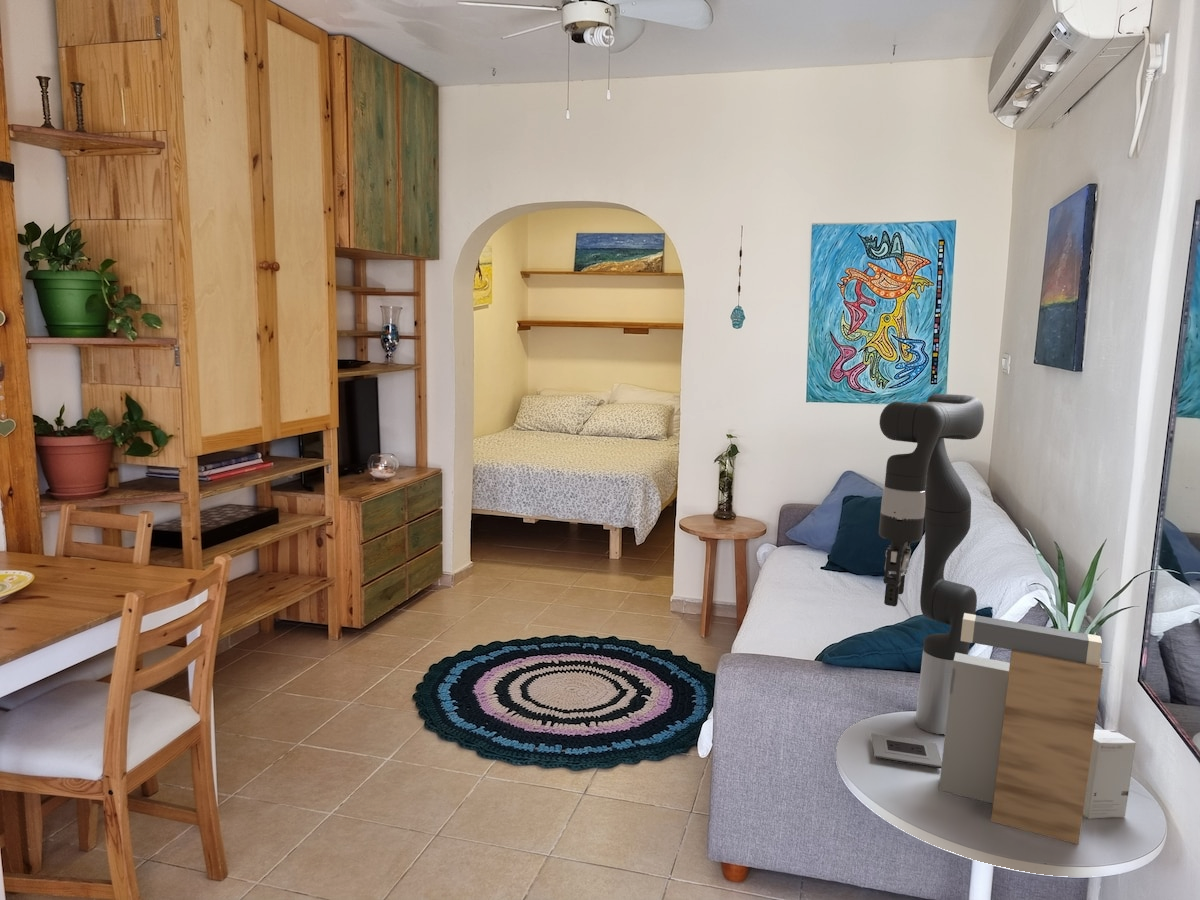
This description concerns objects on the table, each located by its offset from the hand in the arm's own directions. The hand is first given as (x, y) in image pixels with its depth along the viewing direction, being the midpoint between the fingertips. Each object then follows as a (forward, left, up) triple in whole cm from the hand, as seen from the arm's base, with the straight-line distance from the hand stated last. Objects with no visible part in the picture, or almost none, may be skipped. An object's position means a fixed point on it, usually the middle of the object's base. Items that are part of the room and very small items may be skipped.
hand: (893, 599), depth 162 cm
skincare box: (-16, +38, -38) cm, 56 cm away
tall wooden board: (-4, +27, -38) cm, 47 cm away
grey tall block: (-10, +17, -38) cm, 43 cm away
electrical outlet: (-19, +3, -39) cm, 43 cm away
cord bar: (-4, +23, -6) cm, 24 cm away
